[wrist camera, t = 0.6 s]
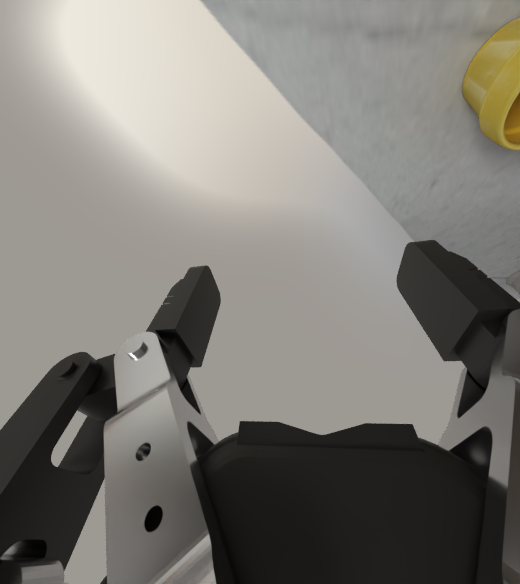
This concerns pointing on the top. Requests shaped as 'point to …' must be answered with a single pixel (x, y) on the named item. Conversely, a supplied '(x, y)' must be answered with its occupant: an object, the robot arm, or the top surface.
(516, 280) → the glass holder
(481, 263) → the top surface
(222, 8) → the top surface
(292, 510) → the robot arm
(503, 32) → the plant pot
